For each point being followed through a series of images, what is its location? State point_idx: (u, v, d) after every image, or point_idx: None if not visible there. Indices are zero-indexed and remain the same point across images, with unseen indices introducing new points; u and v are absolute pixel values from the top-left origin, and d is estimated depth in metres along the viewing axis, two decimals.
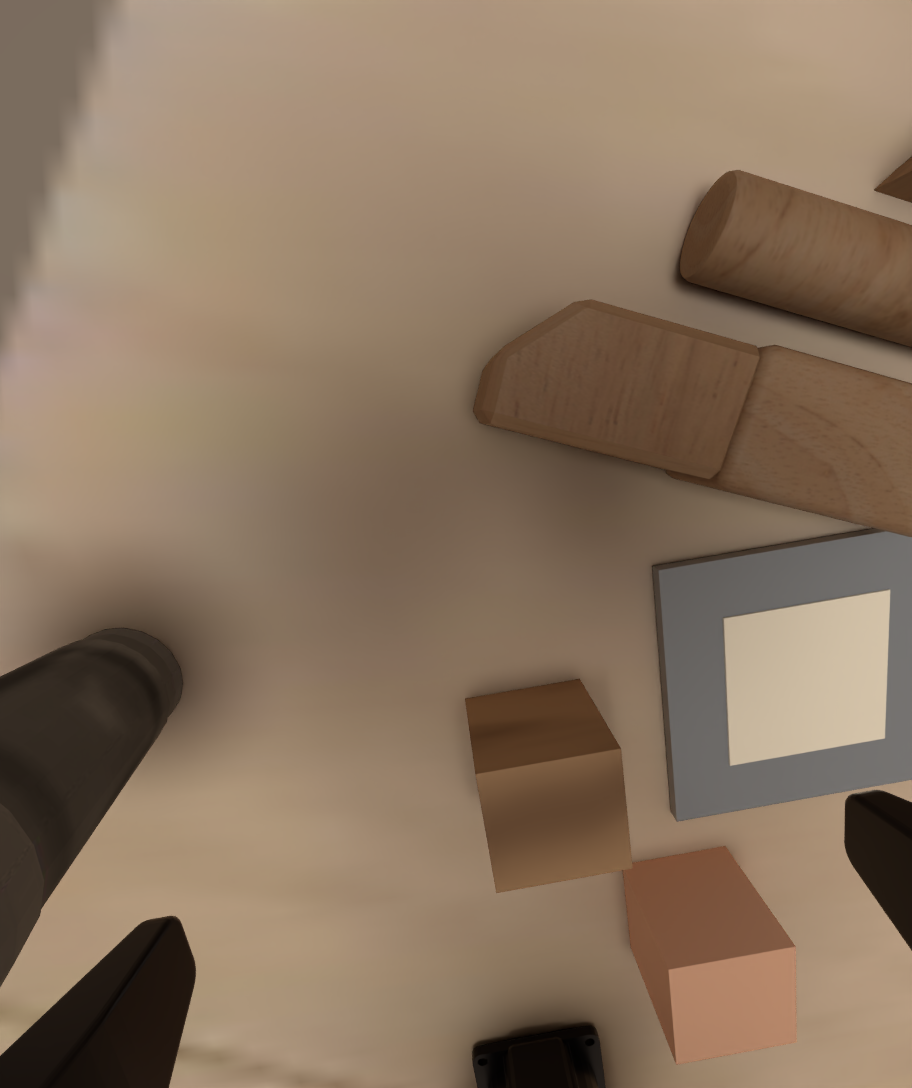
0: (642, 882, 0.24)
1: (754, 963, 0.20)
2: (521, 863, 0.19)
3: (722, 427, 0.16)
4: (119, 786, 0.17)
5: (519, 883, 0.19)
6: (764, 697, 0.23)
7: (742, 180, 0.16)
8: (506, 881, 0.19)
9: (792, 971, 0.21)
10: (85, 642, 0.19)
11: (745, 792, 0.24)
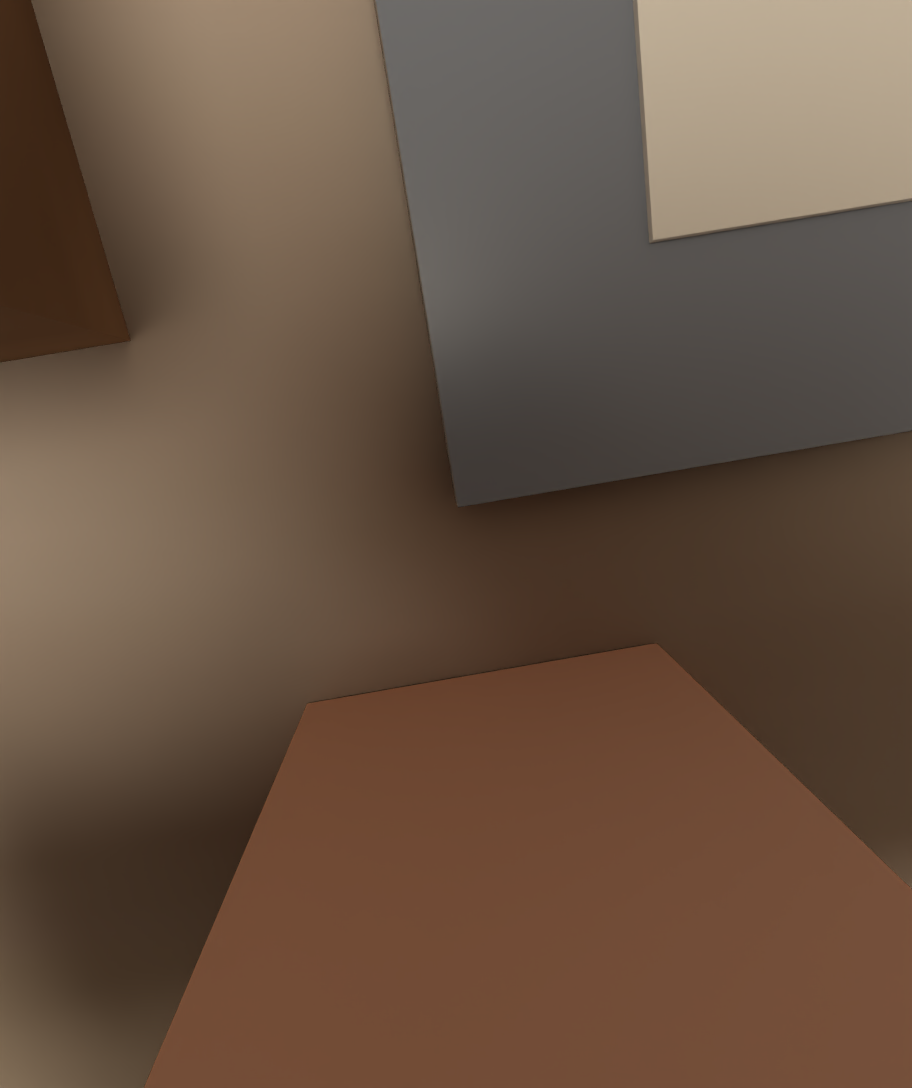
0: (329, 748, 0.06)
1: None
2: None
3: None
4: None
5: None
6: None
7: None
8: None
9: None
10: None
11: (719, 385, 0.06)
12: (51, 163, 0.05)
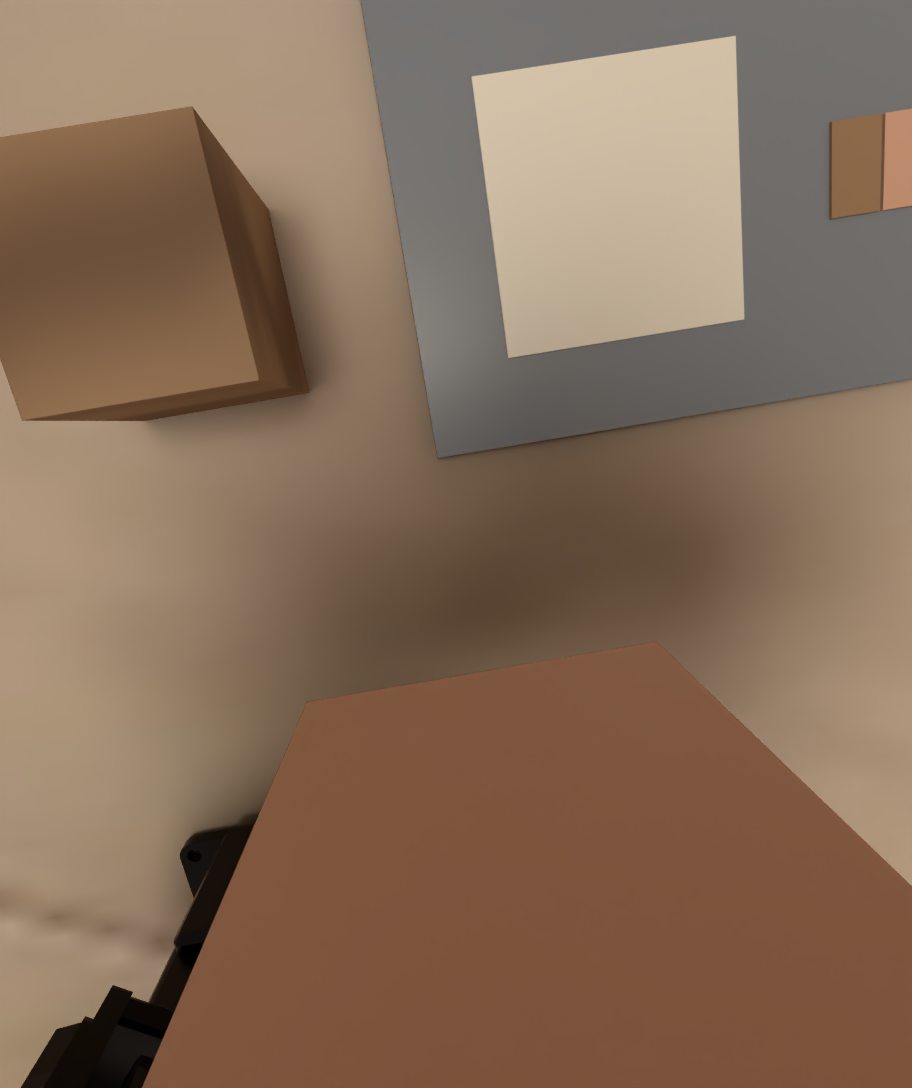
0: (330, 746, 0.06)
1: None
2: (53, 357, 0.11)
3: None
4: None
5: (60, 403, 0.11)
6: (552, 236, 0.15)
7: None
8: (35, 396, 0.11)
9: None
10: None
11: (538, 410, 0.16)
12: (292, 332, 0.15)
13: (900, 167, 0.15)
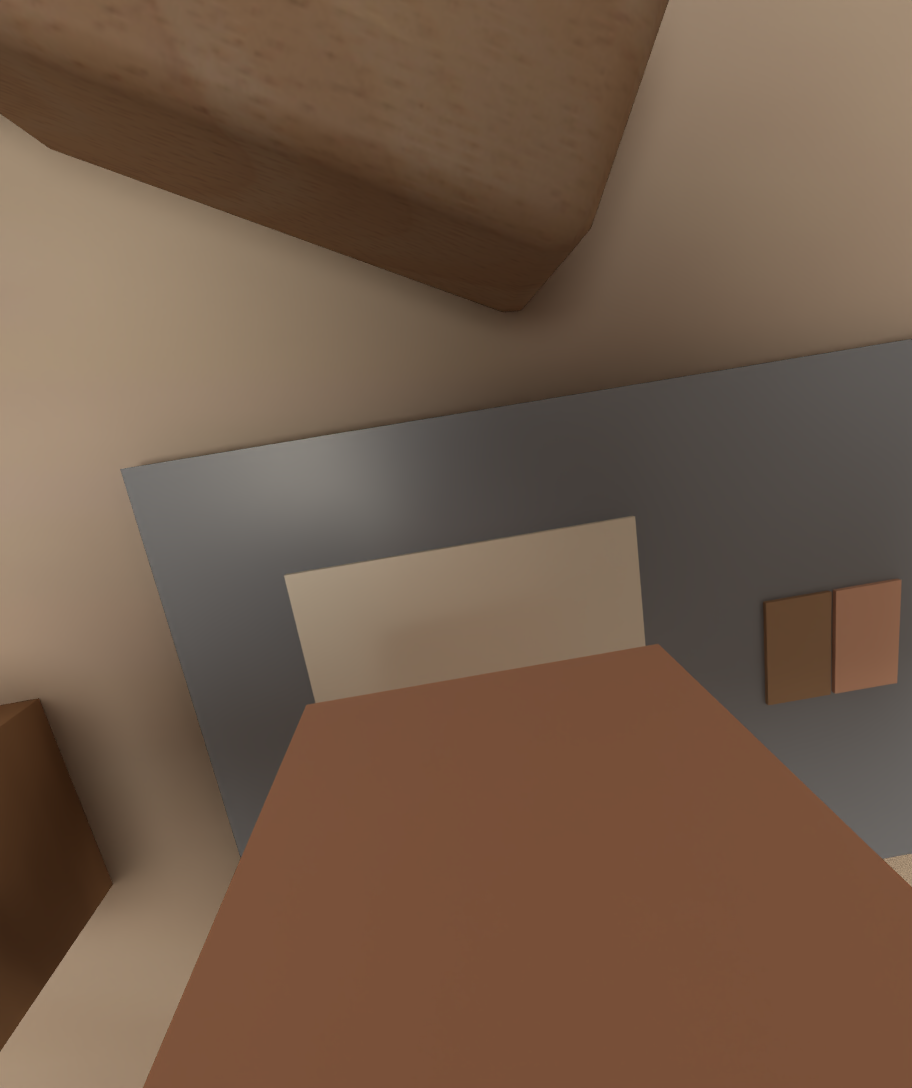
0: (329, 749, 0.06)
1: None
2: None
3: None
4: None
5: None
6: None
7: None
8: None
9: None
10: None
11: None
12: (75, 845, 0.12)
13: (856, 648, 0.11)
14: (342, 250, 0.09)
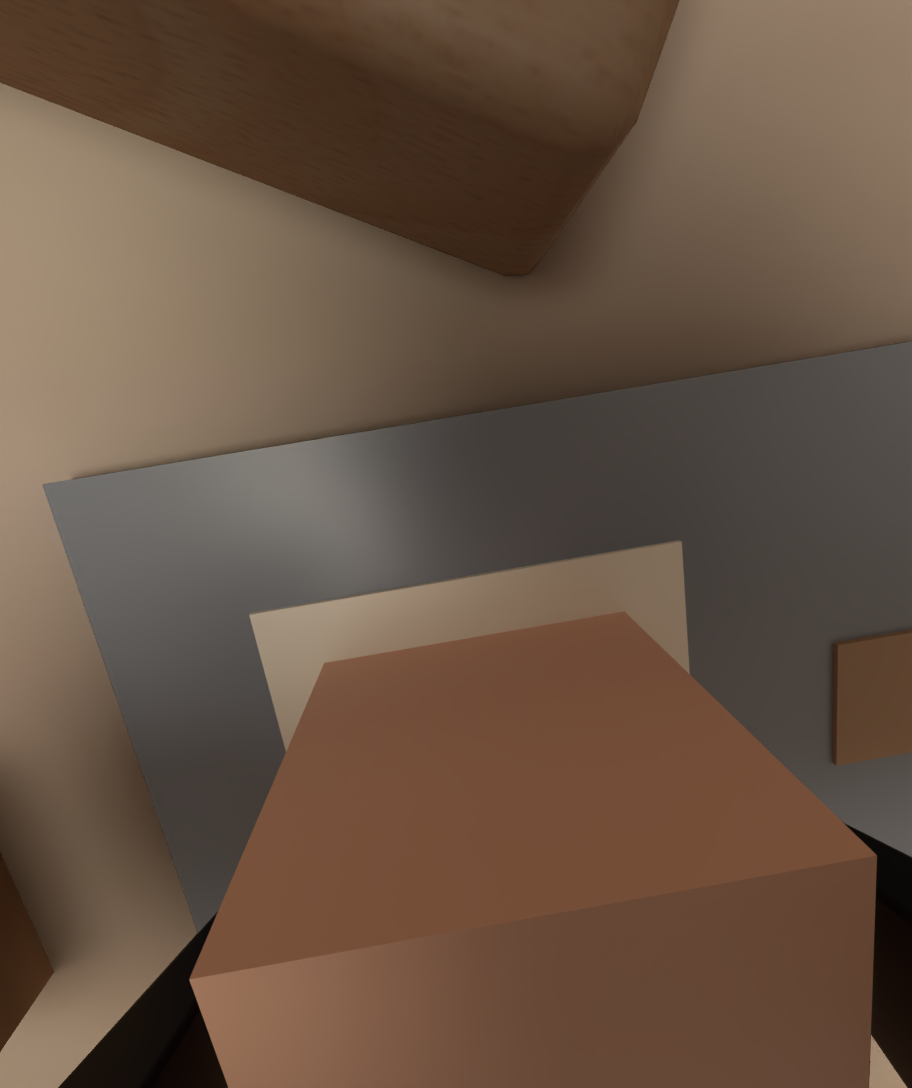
0: (345, 694, 0.07)
1: (659, 943, 0.04)
2: None
3: None
4: None
5: None
6: None
7: None
8: None
9: (855, 990, 0.04)
10: None
11: None
12: (3, 933, 0.10)
13: None
14: (302, 191, 0.07)
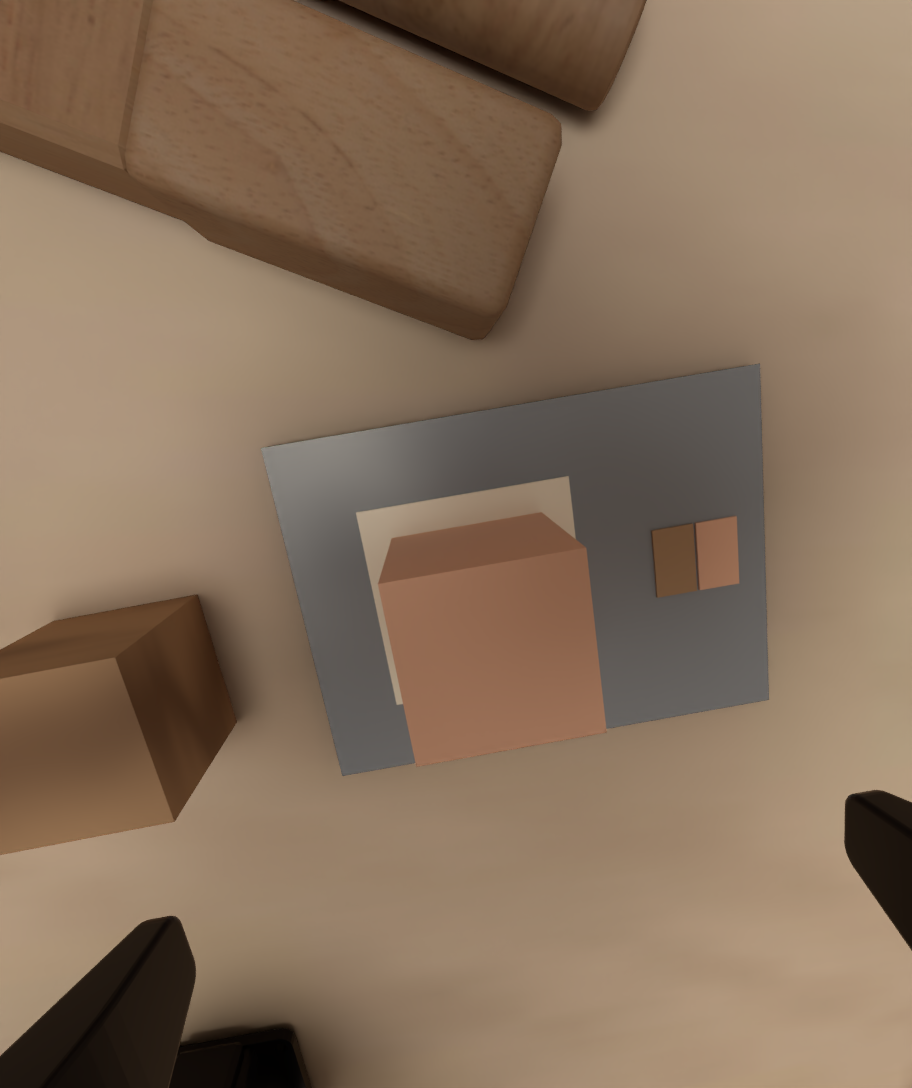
0: (406, 543, 0.16)
1: (521, 577, 0.13)
2: (17, 815, 0.14)
3: (111, 75, 0.11)
4: None
5: (23, 843, 0.14)
6: None
7: None
8: (4, 840, 0.14)
9: (586, 597, 0.13)
10: None
11: None
12: (218, 689, 0.18)
13: (711, 560, 0.18)
14: (376, 302, 0.16)
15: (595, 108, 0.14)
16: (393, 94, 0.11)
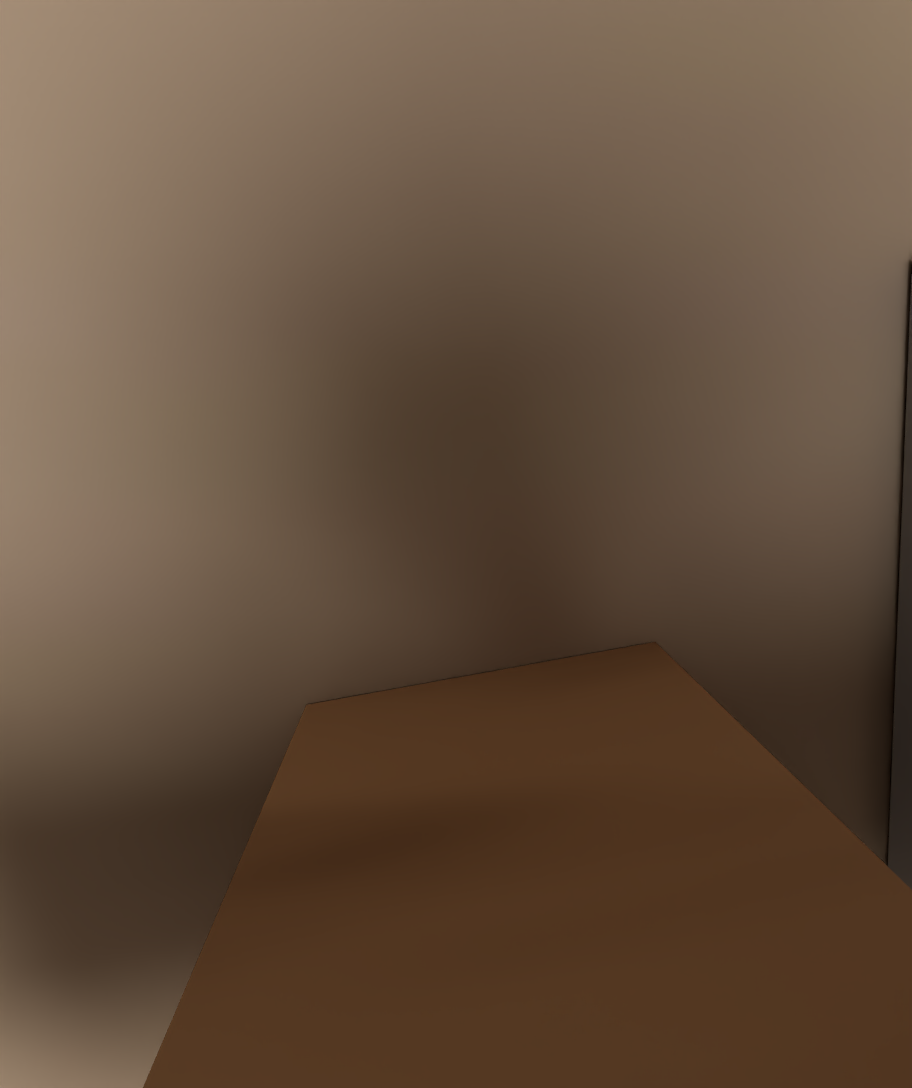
0: None
1: None
2: None
3: None
4: None
5: None
6: None
7: None
8: None
9: None
10: None
11: None
12: None
13: None
14: None
15: None
16: None
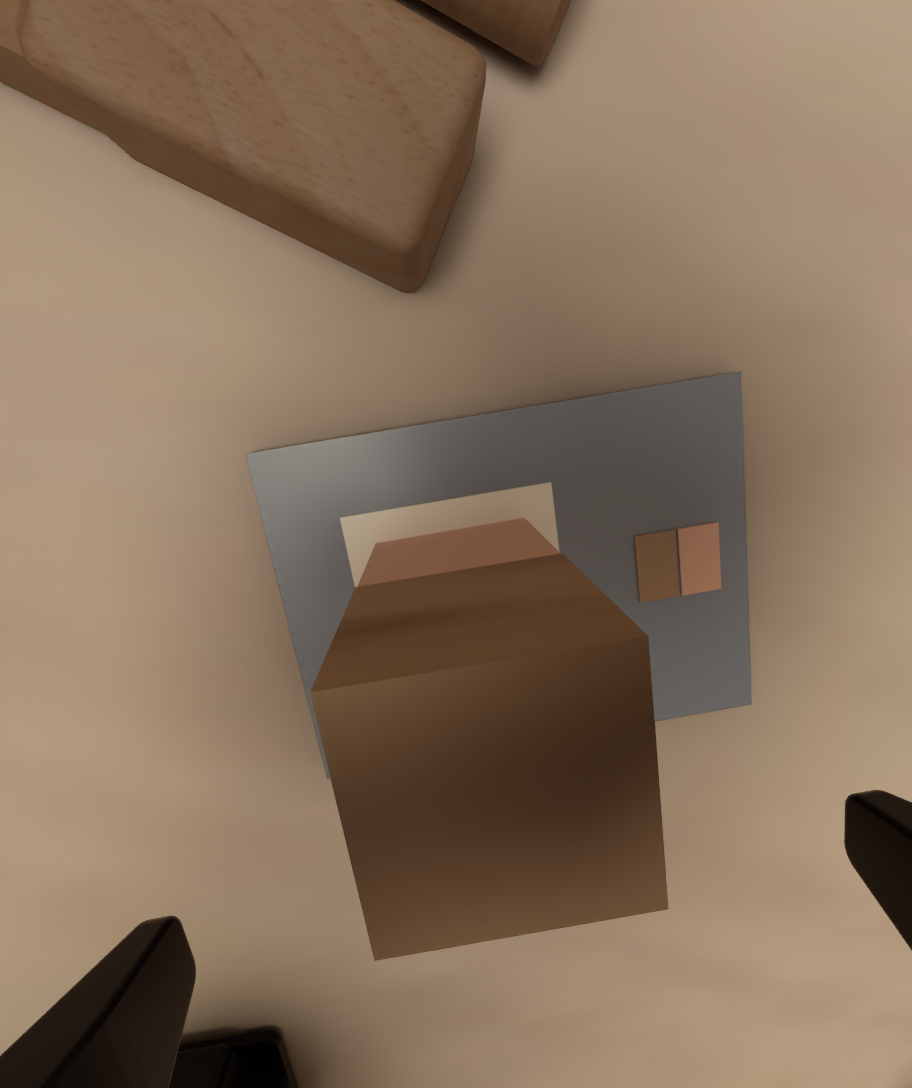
0: (389, 549, 0.16)
1: None
2: (425, 896, 0.09)
3: None
4: None
5: (424, 940, 0.09)
6: None
7: None
8: (395, 936, 0.09)
9: None
10: None
11: None
12: None
13: (693, 565, 0.18)
14: (305, 242, 0.16)
15: (538, 61, 0.14)
16: (308, 6, 0.11)
